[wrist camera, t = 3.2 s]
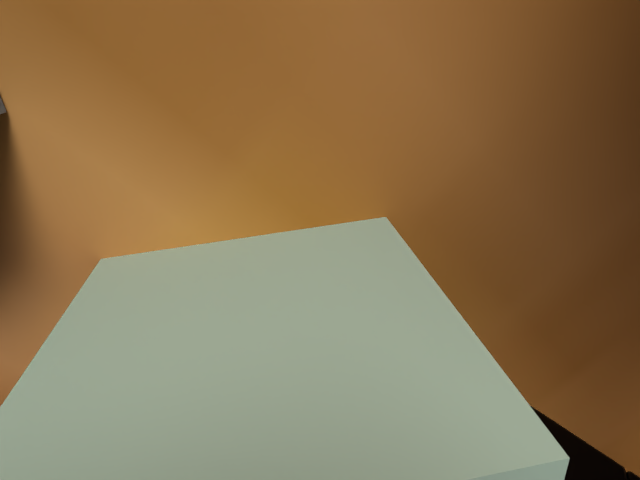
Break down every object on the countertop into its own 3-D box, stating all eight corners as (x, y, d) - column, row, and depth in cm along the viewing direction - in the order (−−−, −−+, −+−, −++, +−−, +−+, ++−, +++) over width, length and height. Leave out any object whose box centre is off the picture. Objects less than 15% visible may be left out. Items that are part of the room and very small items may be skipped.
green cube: (384, 215, 8) (569, 458, 3) (390, 410, 10) (504, 715, 5) (102, 256, 7) (-136, 604, 3) (173, 452, 9) (105, 821, 5)
